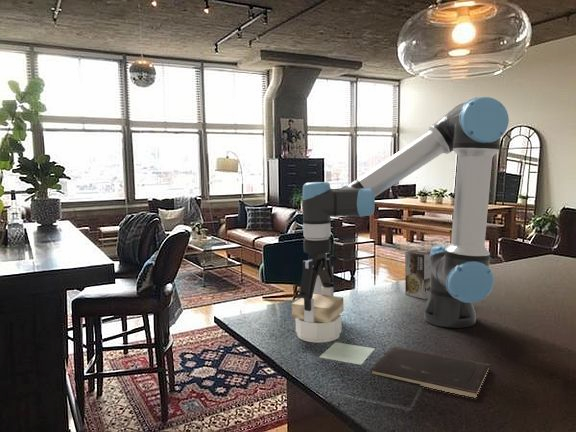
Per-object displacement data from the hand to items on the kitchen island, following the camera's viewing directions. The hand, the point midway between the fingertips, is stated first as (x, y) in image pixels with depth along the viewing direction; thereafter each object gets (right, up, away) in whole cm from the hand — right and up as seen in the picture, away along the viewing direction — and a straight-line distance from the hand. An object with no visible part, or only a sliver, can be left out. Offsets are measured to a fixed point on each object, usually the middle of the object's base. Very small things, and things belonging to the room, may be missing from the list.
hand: (318, 315), depth 134 cm
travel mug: (+3, -5, +17) cm, 18 cm away
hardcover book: (+24, -9, -24) cm, 36 cm away
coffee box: (+40, -1, +40) cm, 56 cm away
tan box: (0, 0, 0) cm, 0 cm away
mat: (+7, -7, -13) cm, 16 cm away
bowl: (0, -6, +1) cm, 6 cm away
